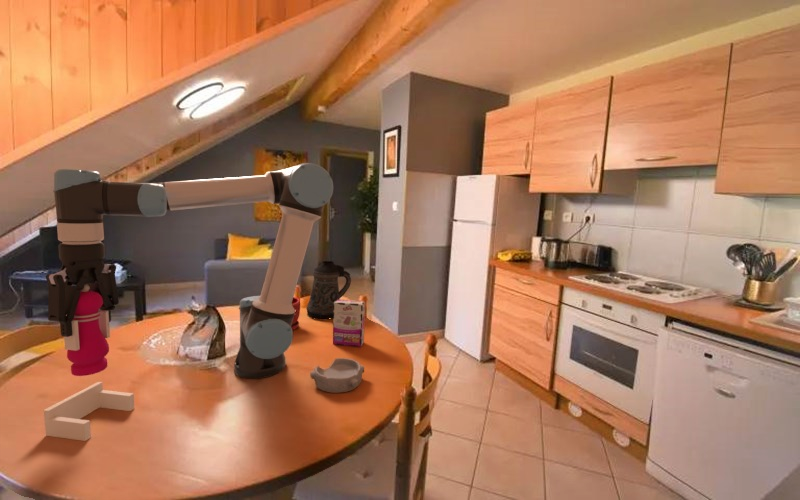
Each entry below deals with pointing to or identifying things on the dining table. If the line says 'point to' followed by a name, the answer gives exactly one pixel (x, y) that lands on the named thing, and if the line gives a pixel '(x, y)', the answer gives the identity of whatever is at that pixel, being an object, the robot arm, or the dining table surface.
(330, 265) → the beer stein
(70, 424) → the bracket
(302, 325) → the dining table surface
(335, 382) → the dish
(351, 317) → the candy bar box
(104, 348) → the pepper mill
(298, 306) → the plant pot
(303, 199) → the robot arm
